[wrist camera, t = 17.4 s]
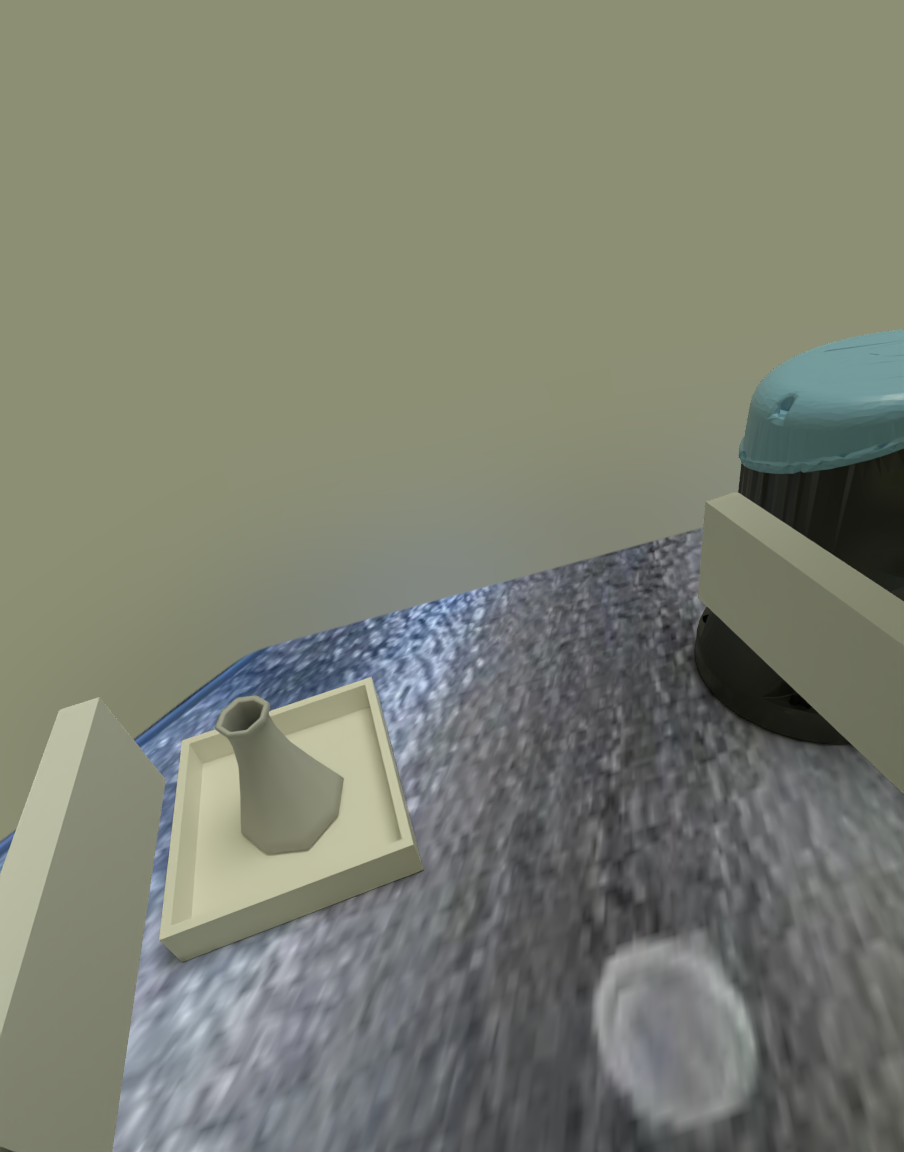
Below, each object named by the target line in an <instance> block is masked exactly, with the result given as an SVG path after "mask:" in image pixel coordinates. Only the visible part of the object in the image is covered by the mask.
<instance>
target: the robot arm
mask: <svg viewBox="0 0 904 1152" xmlns="http://www.w3.org/2000/svg"><path fill="white" fill-rule="evenodd" d="M739 458H740V459H741V463H742V464H741V473H740V482H739V491H738V492H734V493H731V494H728V495H724V496H721V497H718V498H715V499H712V500H709V501H706V502H705V515H704V527H703V540H702V552H701V565H700V578H699V590H698V598H699V599H700V600H701V601H702V602H703V603H704V604H705V605H706V606H707V607H706V609H705V610H704V612H703V614H702V616H701V618H700V621H699V624H698V628H697V636H696V647H695V658H696V663H697V667H698V670H699V672H700V675H701V677H702V679H703V680H704V682H705V683H706V685H707V686H708V688H709V689H710V690H711V691H712V692H713V694H714V695H715V696H716V697H717V698H718V699H719V700H720V701H722V702H723V703H724V704H725V705H726V706H727V707H729V708H730V709H731V710H733V711H734V712H736V713H737V714H739V715H740V716H742V717H743V718H745V719H747V720H749V721H751V722H752V723H754V724H757V725H759V726H761V727H763V728H766V729H768V730H770V731H773V732H776V733H779V734H782V735H785V736H789V737H792V738H796V739H801V740H806V741H812V742H820V743H833V744H847V743H851V744H852V745H853V746H854V747H855V748H856V749H857V750H858V751H859V752H860V753H861V754H862V755H863V756H864V757H865V758H866V759H867V760H868V761H869V762H871V763H872V764H873V765H874V766H875V767H876V768H877V769H878V770H879V771H880V772H881V773H882V774H883V775H884V776H885V777H886V778H887V779H888V780H889V781H890V782H891V783H893V784H894V785H895V786H896V787H897V788H898V789H899V790H900V791H901V792H902V793H903V794H904V330H895V331H886V332H879V333H873V334H868V335H861V336H857V337H852V338H847V339H844V340H840V341H836V342H832V343H829V344H826V345H822V346H819V347H816V348H813V349H811V350H809V351H807V352H804V353H801V354H799V355H797V356H794V357H792V358H791V359H789V360H787V361H785V362H783V363H782V364H780V365H779V366H777V367H776V368H775V369H773V370H772V371H771V372H770V373H769V374H767V375H766V376H765V377H764V379H763V380H762V381H761V382H760V384H759V385H758V386H757V388H756V390H755V392H754V394H753V396H752V400H751V403H750V409H749V414H748V419H747V425H746V430H745V436H744V438H743V439H742V441H741V443H740V446H739ZM164 787H165V779H164V777H163V776H162V775H161V774H160V772H159V771H158V770H157V769H156V767H155V766H154V765H153V764H152V762H151V761H150V760H149V759H148V757H147V756H146V755H145V754H144V752H143V751H142V750H141V749H140V747H139V746H138V745H137V744H136V742H135V741H134V740H133V739H132V737H131V736H130V735H129V734H128V732H127V731H126V730H125V729H124V727H123V726H122V725H121V724H120V722H119V721H118V720H117V719H116V717H115V716H114V715H113V714H112V712H111V711H110V710H109V709H108V707H107V706H106V705H105V704H104V702H103V701H102V700H101V699H100V697H98V698H95V699H92V700H89V701H86V702H83V703H80V704H77V705H73V706H70V707H67V708H64V709H61V710H59V712H58V715H57V718H56V721H55V724H54V726H53V729H52V732H51V735H50V737H49V740H48V743H47V746H46V749H45V752H44V754H43V757H42V760H41V763H40V765H39V768H38V771H37V774H36V776H35V779H34V782H33V785H32V787H31V790H30V793H29V796H28V799H27V801H26V804H25V807H24V810H23V813H22V815H21V818H20V821H19V824H18V826H17V829H16V832H15V835H14V837H13V840H12V843H11V846H10V849H9V851H8V854H7V857H6V860H5V862H4V865H3V868H2V871H1V874H0V1152H112V1149H113V1142H114V1135H115V1128H116V1121H117V1114H118V1107H119V1100H120V1093H121V1086H122V1079H123V1072H124V1065H125V1058H126V1051H127V1044H128V1037H129V1030H130V1023H131V1016H132V1009H133V1003H134V996H135V989H136V982H137V975H138V968H139V961H140V954H141V947H142V940H143V933H144V926H145V919H146V912H147V905H148V898H149V891H150V884H151V877H152V870H153V863H154V856H155V849H156V842H157V835H158V828H159V821H160V815H161V808H162V801H163V794H164Z"/></svg>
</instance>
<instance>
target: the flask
mask: <svg viewBox="0 0 904 1152" xmlns="http://www.w3.org/2000/svg"><path fill="white" fill-rule="evenodd" d="M269 710H270V704H269V702H267V701H265V700H263V699H262V698H260V697H258V696H256V695H255V696H248V697H241V698H236V699H235V700H234V701H233V702H232V703H231V704H230V705H228V706H227V707H226V708H225V709H224V710H223V711H221V713H220V716H219V718H218V721H217V724H216V726H215V729H216V731H218V732H219V733H220V734H222V735H223V736H225V737H227V738H228V740H229V741H230V743H231V745H232V747H233V750H234V753H235V757H236V760H237V763H238V768H239V783H240V808H241V833H242V834H243V835H244V836H246V837H247V838H248V839H249V840H251V841H252V842H253V843H254V844H256V845H257V846H258V847H260V848H261V849H262V850H263V851H265V852H266V853H275V852H284V851H292V850H301V849H309V848H310V846H311V845H312V844H313V843H314V842H315V841H316V839H317V838H318V837H319V836H320V835H321V834H322V833H323V831H324V830H325V829H326V828H327V827H328V826H329V824H330V823H331V822H332V821H333V820H334V819H335V817H336V816H337V815H338V814H339V807H340V801H341V794H342V787H343V781H344V778H343V777H341V776H340V775H339V774H337V773H336V772H334V771H333V770H331V769H329V768H328V767H326V766H325V765H323V764H322V763H320V762H319V761H317V760H316V759H314V758H313V757H311V756H310V755H308V754H307V753H306V752H304V751H303V750H301V749H300V748H299V747H297V746H296V745H294V744H293V743H292V742H290V741H289V740H288V739H287V738H286V737H285V736H284V734H283V733H282V732H281V731H280V730H279V729H278V728H277V727H276V726H275V724H274V722H273V721H272V719H271V717H270V715H269Z"/></svg>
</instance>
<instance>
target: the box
mask: <svg viewBox="0 0 904 1152" xmlns="http://www.w3.org/2000/svg"><path fill="white" fill-rule="evenodd" d="M269 715H270V717H271V719H272V721H273V722H274V724H275V726H276V727H277V728H278V729H279V730H280V731H281V732H282V733H283V734H284V736H285V737H286V738H287V739H288V740H289V741H290V742H292V743H293V744H294V745H296V746H297V747H299V748H300V749H301V750H303V751H304V752H306V753H307V754H308V755H310V756H311V757H313V758H314V759H316V760H317V761H319V762H320V763H322V764H323V765H325V766H326V767H328V768H329V769H331V770H333V771H334V772H336V773H337V774H339V775H340V776H341V777H343V778H344V781H343V787H342V794H341V801H340V807H339V814H338V815H337V816H336V817H335V819H334V820H333V821H332V822H331V823H330V824H329V826H328V827H327V828H326V829H325V830H324V831H323V833H322V834H321V835H320V836H319V837H318V838H317V839H316V841H315V842H314V843H313V844H312V845H311V846H310V848H309V849H301V850H292V851H284V852H275V853H266V852H265V851H263V850H262V849H261V848H260V847H258V846H257V845H256V844H254V843H253V842H252V841H251V840H249V839H248V838H247V837H246V836H244V835H243V834H242V833H241V808H240V783H239V768H238V763H237V760H236V757H235V753H234V750H233V747H232V745H231V743H230V741H229V740H228V738H227V737H225V736H223V735H222V734H220V733H219V732H218V731H216V729H215V730H212V731H209V732H206V733H203V734H200V735H197V736H194V737H191V738H188V739H186V740H183V741H182V747H181V756H180V765H179V773H178V782H177V791H176V799H175V808H174V817H173V825H172V834H171V843H170V851H169V860H168V868H167V877H166V886H165V894H164V903H163V912H162V920H161V929H160V938H159V940H160V941H161V942H162V943H163V944H164V945H165V946H166V947H167V948H168V949H169V950H170V951H171V952H172V953H173V954H174V955H175V956H176V957H177V958H178V959H179V960H180V961H181V962H184V961H187V960H190V959H192V958H195V957H197V956H200V955H203V954H205V953H208V952H210V951H213V950H216V949H218V948H221V947H223V946H226V945H229V944H231V943H234V942H237V941H239V940H242V939H244V938H247V937H250V936H252V935H255V934H257V933H260V932H263V931H265V930H268V929H270V928H273V927H276V926H278V925H281V924H283V923H286V922H289V921H291V920H294V919H297V918H299V917H302V916H304V915H307V914H310V913H312V912H315V911H317V910H320V909H323V908H325V907H328V906H330V905H333V904H336V903H338V902H341V901H344V900H346V899H349V898H351V897H354V896H357V895H359V894H362V893H364V892H367V891H370V890H372V889H375V888H377V887H380V886H383V885H385V884H388V883H391V882H393V881H396V880H398V879H401V878H404V877H406V876H409V875H411V874H414V873H417V872H419V871H422V870H424V869H423V865H422V861H421V857H420V854H419V850H418V846H417V842H416V838H415V834H414V830H413V827H412V823H411V819H410V815H409V811H408V807H407V803H406V799H405V796H404V792H403V788H402V784H401V780H400V776H399V772H398V769H397V765H396V761H395V757H394V753H393V749H392V745H391V741H390V738H389V734H388V730H387V726H386V722H385V718H384V714H383V711H382V707H381V703H380V700H379V697H378V694H377V692H376V689H375V686H374V683H373V681H372V678H371V677H370V678H367V679H364V680H361V681H358V682H355V683H352V684H349V685H346V686H343V687H340V688H337V689H334V690H331V691H328V692H325V693H322V694H319V695H317V696H314V697H311V698H308V699H305V700H302V701H299V702H296V703H293V704H290V705H287V706H284V707H281V708H278V709H275V710H272V711H269Z"/></svg>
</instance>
